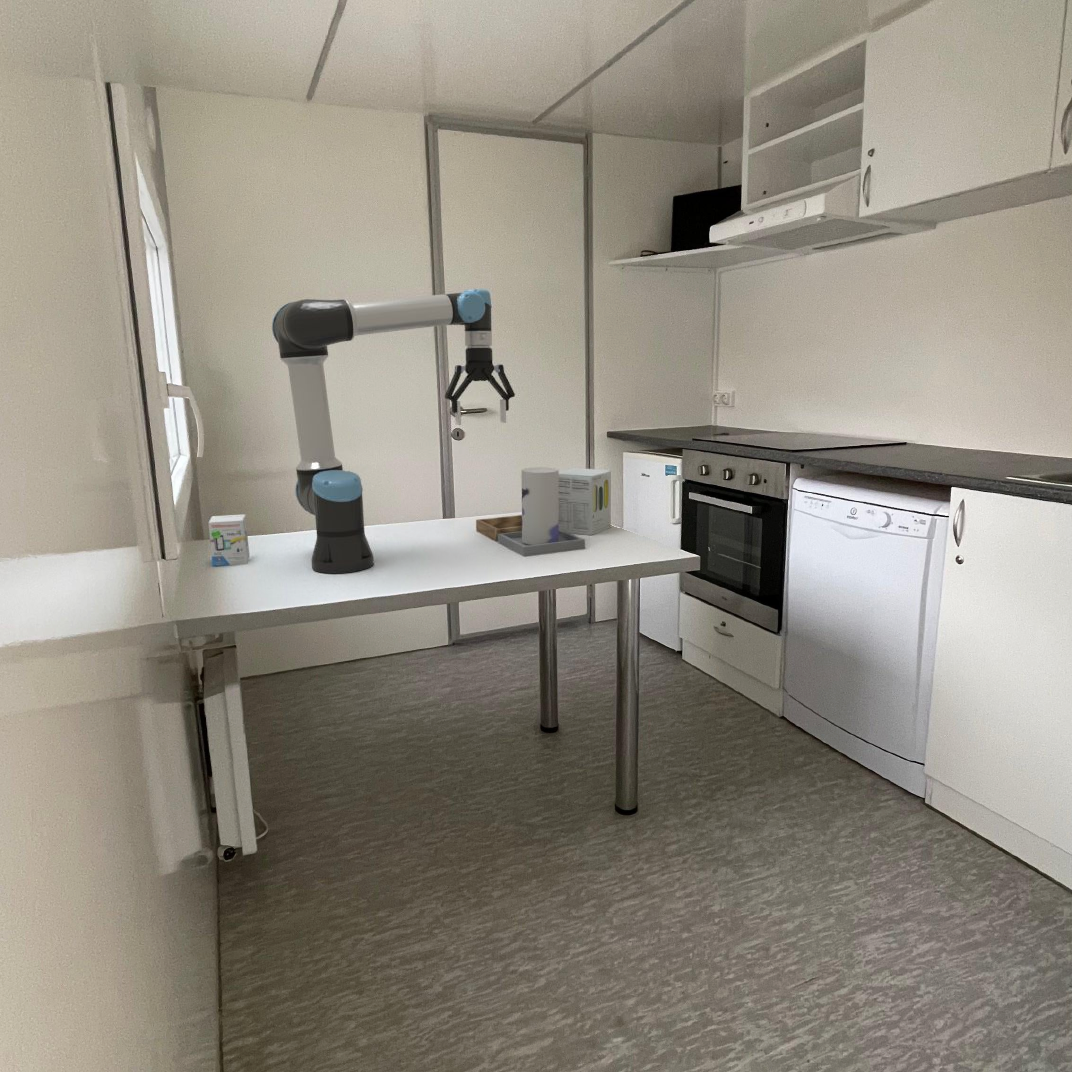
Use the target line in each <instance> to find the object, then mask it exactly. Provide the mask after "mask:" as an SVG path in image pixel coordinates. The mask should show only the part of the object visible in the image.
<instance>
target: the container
mask: <svg viewBox="0 0 1072 1072" xmlns="http://www.w3.org/2000/svg"><path fill="white" fill-rule="evenodd" d="M559 472H560V471H559V469H557V468H555V467H554V468H553V467H544V466H543V467H539V466H538V467H525V468H523V469H521V515H522V542H523V543H525V544H529V545H538V544H546V543H554V542H558V519H559Z"/></svg>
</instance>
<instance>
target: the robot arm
mask: <svg viewBox="0 0 1072 1072" xmlns="http://www.w3.org/2000/svg"><path fill="white" fill-rule="evenodd" d="M491 299H492V298H491V293H490V291H489V290H487V289H484V288H482V289H481V288H480V289H479V288H477V289H475V288H473V289H472V288H470V289H465V290H464V291H462V292H455V293H447V294H445V293H441V294H433V295H423V296H415V297H414V296H410V297H403V298H402V297H401V298H391V299H381V300H370V301H368V300H367V301H360V302H350V301H348V300H347V299H345V298H344V299H315V298H314V299H310V298H309V299H306V298H305V299H300V300H297V301H292V302H288V303H286V304H283V306H281V307H280V308H279V309H278V310H277V311H276V312H275V313H274V316H273V318H272V322H271V330H272V334H273V337H274V339H275V341H276V343H277V344H278V350H279V358H280V360H281V362H283V363H284V364H286V366H287V368H288V377H289V383H290V389H291V390H290V391H291V396H292V397H291V398H292V405H293V411H294V418H295V425H296V433H297V439H298V447H299V454H300V462H299V463H298V464H297V465H296V467H295V469H296V478H297V481H296V484H295V489H294V490H295V496H296V500H297V501H298V504H299V505H300V506H301V507H302V508H303V509H304V511H306V512H307V513H309V514H311V515H313V516H314V520H315V530H316V540H315V544H314V548H313V552H312V556H311V569H312V570H313V571H315V572H317V573H323V574H324V573H325V574H345V573H346V574H347V573H354V572H359V571H363V570H367V569H369V568H371V567H372V566H374V564H375V562H374V561H375V559H374V553H373V551H372V548H371V547H370V544H369V541H368V539H367V536H366V534H365V533H366V532H365V520H364V519H365V516H364V501H363V499H364V498H363V485H362V479H361V477H360V475H358V474H357V473H356V472H353V471H350V470H347V471H346V470H345V469H344V468H343V462H342V461H340V460H339V459H338V458H336V455H335V454H336V453H335V445H334V439H333V429H332V423H331V415H330V413H331V412H330V405H329V400H328V391H327V383H326V375H325V368H324V362H326V360H327V359H328V357H329V351H328V346H331V345H335V344H337V343H343V342H350V341H351V342H352V341H353V339H354V338H355V337H357V336H365V335H366V336H367V335H373V334H383V333H389V332H398V331H407V330H414V329H422V328H431V327H432V328H433V327H440V326H463V327H464V343H465V344H464V345H465V347H467V348H466V349H465V350H464V351H465V365H463V366H462V365H460V364H456V365H455V366H454V373H453V376H452V379H450V382H449V384H448V385H449V386H448V387H447V390H446V393H445V395H444V398H445V399H447V400H449V401H450V402H451V412H452V413H453V414H454V417H455V418H454V419H455V421H454V422H455V425H457V426H461V425H462V419H461V417H462V415H461V401H459V398H460V397H461V396H462V394H463V393H464V392H465V391H466V390H467V388H468V386H469V385H470V384H471V383H472V382H480V381H481V382H486V381H487V382H488V383H489V384H490V385H491V386H492V388H494V390H495V391H496V392H497V393H498V394H499V396H500V397H501V398H502V399H499V404H500V405H499V414H500V415H499V416H500V418H499V420H500V423H503V424H506V423H507V411H509V410H510V407H509V406H510V402H509V401H510V399H511V398H514V397H515V395H516V393H515V391H514V390H513V388H512V385H511V384H510V381H509V378H508V377H507V375H506V373H505V367H504V365H503V364H500V363H499V364H497V365H494V363H493V349H492V348H491V346H492V345H493V338H492V337H493V334H492V301H491ZM464 372H465V373H466V374H467V375H466V376H465V378H464V379H463V381H462V382H461V384H460V385H459V386H458V388H457V389H456V387H457V385H458V383H459V381H460V378H461V376H462V374H463V373H464ZM494 372H495V373H497V375H498V377H499V380H500V381H501V384H502V386H503V387H504V388H503V387H502V386H501V385H500V384H499V383H498V381H497V380H496V378H495V376H493V373H494ZM455 390H456V391H455Z"/></svg>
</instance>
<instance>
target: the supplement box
mask: <svg viewBox="0 0 1072 1072" xmlns="http://www.w3.org/2000/svg"><path fill="white" fill-rule="evenodd" d="M611 498H612V470H609V469H597V468H596V469H595V468H581V467H580V468H579V467H578V468H577V467H572V468H568V469H563V470H561V471H559V519H558V529H561V530H563V531H565V532H568V533H570V534H574V535H576V534H577V535H586V536H592V535H596V534H598V533H600V532H602V531H605V530H607V529H609V528H611V527H612V522H611V521H612V520H611V519H612V512H611V511H612V503H611V502H612V501H611V500H612V499H611Z"/></svg>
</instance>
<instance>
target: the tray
mask: <svg viewBox="0 0 1072 1072" xmlns="http://www.w3.org/2000/svg"><path fill="white" fill-rule="evenodd" d="M497 543H498V544H500V545H502V546H503V547H505V548H508V549H509V550H511V551H513V552H515V553H517V554H518V555H519V556H522V557H531V556H532V557H533V556H539V555H546V554H547V555H548V554H553V553H563V552H569V551H577V550H578V551H579V550H586V539H585V538H582V537H580V536H578V535H576V534H574V533H568V532H565V531H563V530H561V529H558V542H554V543H546V544H538V545H529V544H525V543H523V542H522V531H518V532H510V533H501V534H498V542H497Z"/></svg>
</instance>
